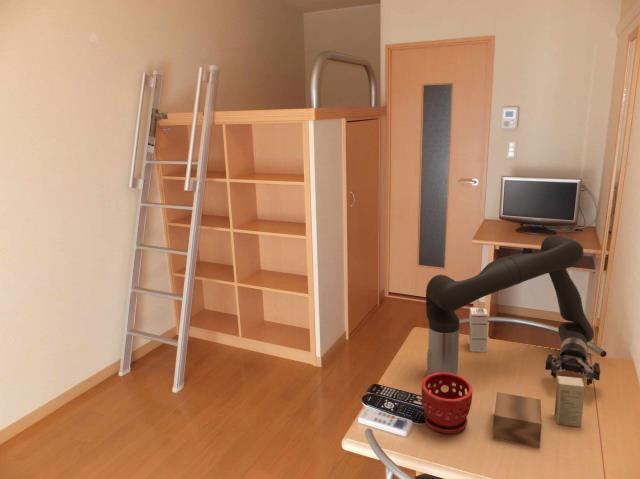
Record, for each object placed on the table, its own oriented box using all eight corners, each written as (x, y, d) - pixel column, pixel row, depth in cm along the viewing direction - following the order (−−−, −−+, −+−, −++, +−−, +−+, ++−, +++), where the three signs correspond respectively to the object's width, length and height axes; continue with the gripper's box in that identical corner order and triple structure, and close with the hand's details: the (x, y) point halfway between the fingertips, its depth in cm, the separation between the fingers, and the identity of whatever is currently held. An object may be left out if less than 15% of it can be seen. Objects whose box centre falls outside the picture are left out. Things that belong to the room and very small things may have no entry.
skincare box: (578, 418, 131) (583, 378, 128) (581, 427, 127) (586, 386, 124) (552, 414, 133) (556, 374, 130) (554, 423, 129) (558, 383, 126)
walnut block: (493, 438, 125) (494, 415, 123) (495, 414, 135) (496, 391, 133) (539, 448, 121) (541, 423, 119) (538, 422, 130) (540, 399, 129)
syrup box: (487, 352, 167) (489, 314, 164) (469, 351, 169) (471, 313, 165) (485, 345, 173) (487, 307, 169) (467, 344, 174) (469, 306, 170)
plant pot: (410, 422, 132) (411, 383, 129) (441, 403, 140) (443, 366, 137) (449, 446, 122) (451, 405, 119) (480, 425, 130) (482, 385, 127)
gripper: (549, 338, 154) (544, 361, 140) (601, 347, 147) (601, 372, 133) (547, 359, 156) (542, 384, 142) (598, 369, 149) (598, 396, 135)
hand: (571, 378), depth 138 cm, fingers open, 8 cm apart
